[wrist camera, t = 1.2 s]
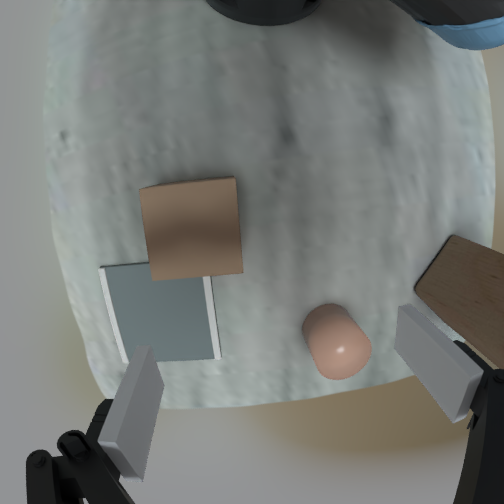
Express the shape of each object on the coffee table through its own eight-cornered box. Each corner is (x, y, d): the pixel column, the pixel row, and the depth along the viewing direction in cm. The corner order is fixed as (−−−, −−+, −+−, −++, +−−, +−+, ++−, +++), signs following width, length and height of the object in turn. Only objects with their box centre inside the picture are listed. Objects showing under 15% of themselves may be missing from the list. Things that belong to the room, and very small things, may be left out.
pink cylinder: (302, 307, 37) (317, 336, 30) (351, 300, 37) (374, 326, 30) (302, 351, 38) (315, 384, 32) (348, 343, 39) (368, 373, 32)
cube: (159, 183, 32) (139, 189, 24) (233, 176, 32) (235, 178, 25) (168, 255, 34) (152, 280, 26) (239, 249, 34) (243, 273, 27)
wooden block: (409, 288, 37) (510, 367, 18) (451, 230, 36) (564, 277, 17) (443, 321, 40) (527, 395, 20) (479, 270, 38) (573, 322, 19)
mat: (100, 266, 33) (98, 268, 33) (208, 256, 34) (207, 259, 33) (125, 359, 37) (123, 363, 36) (221, 355, 38) (221, 359, 37)
